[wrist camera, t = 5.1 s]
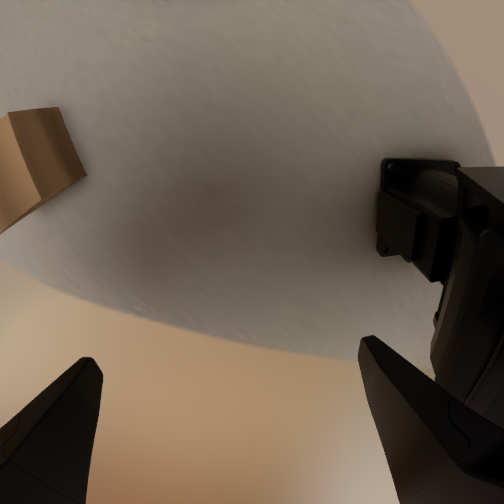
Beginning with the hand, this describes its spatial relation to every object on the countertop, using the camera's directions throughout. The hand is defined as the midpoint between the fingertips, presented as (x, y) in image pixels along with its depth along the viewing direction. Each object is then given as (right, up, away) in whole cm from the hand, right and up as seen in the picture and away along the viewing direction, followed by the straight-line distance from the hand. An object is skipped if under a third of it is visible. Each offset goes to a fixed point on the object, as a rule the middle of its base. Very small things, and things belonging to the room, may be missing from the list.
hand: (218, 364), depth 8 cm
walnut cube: (-12, +9, +6) cm, 16 cm away
